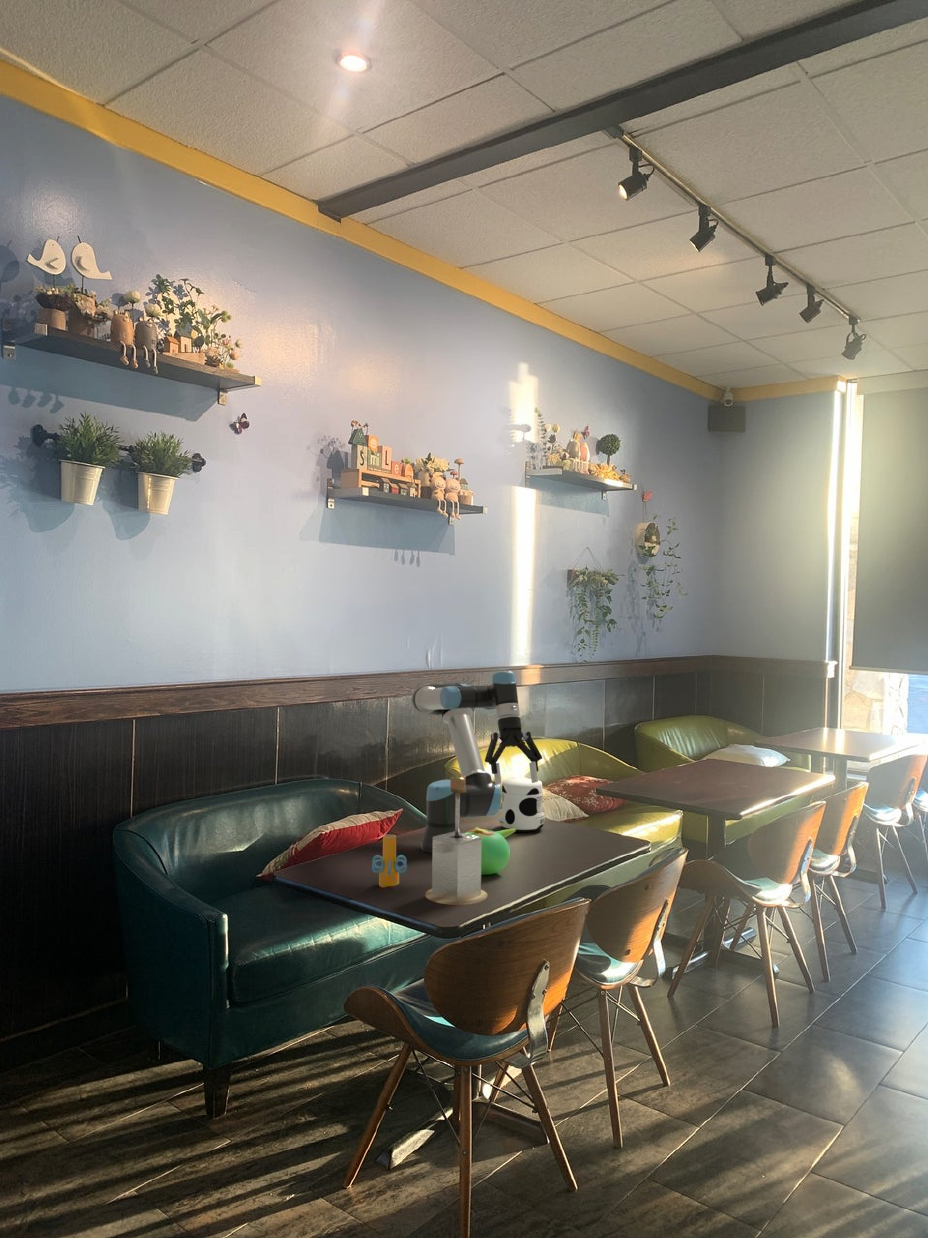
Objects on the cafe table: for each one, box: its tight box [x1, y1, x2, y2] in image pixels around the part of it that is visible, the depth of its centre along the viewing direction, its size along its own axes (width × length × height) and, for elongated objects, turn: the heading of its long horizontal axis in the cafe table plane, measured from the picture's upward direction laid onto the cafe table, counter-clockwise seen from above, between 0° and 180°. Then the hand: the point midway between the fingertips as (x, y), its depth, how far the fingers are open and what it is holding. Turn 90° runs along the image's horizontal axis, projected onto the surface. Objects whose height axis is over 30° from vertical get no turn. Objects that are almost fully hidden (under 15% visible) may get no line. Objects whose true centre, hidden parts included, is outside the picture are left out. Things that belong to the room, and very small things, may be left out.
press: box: [431, 831, 482, 902], centre depth 272 cm, size 10×16×17 cm, turn 137°
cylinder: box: [371, 833, 408, 889], centre depth 282 cm, size 12×10×15 cm
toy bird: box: [464, 826, 516, 876], centre depth 297 cm, size 18×17×15 cm
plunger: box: [449, 775, 466, 839], centre depth 272 cm, size 7×7×20 cm
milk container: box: [498, 777, 546, 833], centre depth 356 cm, size 17×17×18 cm
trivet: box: [424, 888, 488, 906], centre depth 272 cm, size 18×18×1 cm
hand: (516, 783), depth 301 cm, fingers open, 13 cm apart
